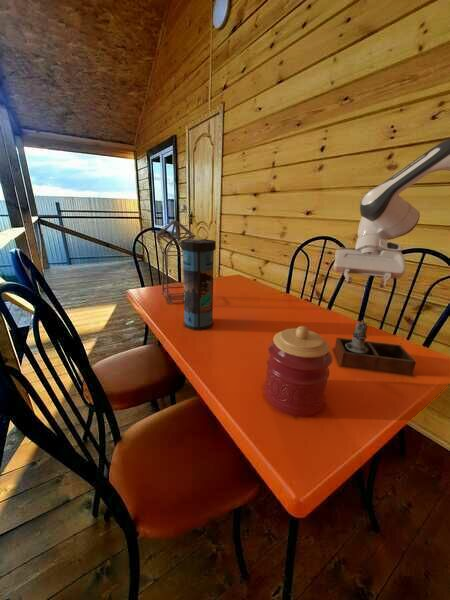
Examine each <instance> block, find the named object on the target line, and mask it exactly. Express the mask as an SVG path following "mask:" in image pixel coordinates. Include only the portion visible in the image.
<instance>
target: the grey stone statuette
mask: <svg viewBox="0 0 450 600" xmlns="http://www.w3.org/2000/svg"><path fill="white" fill-rule="evenodd" d="M367 331H368V324H367V323H365V320H364V319H362V320H361V322H357V323H356V324H355V328H354V332H353V333H352V339H353V340H352V342H350V343H347V344H346V345H345V346H346V350H347V352H350V353H358V354H366V353H367V352H368V351H369V350H368V348H367V347H366V346H364V341H366V339H367V338H368V336H367Z"/></svg>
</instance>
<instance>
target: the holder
mask: <svg viewBox="0 0 450 600" xmlns="http://www.w3.org/2000/svg"><path fill="white" fill-rule="evenodd" d="M352 340H353V338H344V337H336V338H335V344H334V349H333V350H334V352H335V355H336V357H337V360H338V363H339V366H340V367H344V368H353V369H359V370H366V371H373V372H380V373H388V374H396V375H402V376H403V375H404V376H409V377H412V376H413V373H414V370H415V366H416V363H417V361H416V360H415V359H414V358H413V357H412V356H411V355H410V354H409V352H408V351H407V350H406V349H405V348H404V347H403V345H401V344H395V343H394V344H393V343H387V342H386V343H385V342H377V341H369V340H365V341H364V346H366V347H367V348H368V350H369V351H368V352H367V353H366V354H358V353H350V352H347V350H346V346H345V345H346V344H347V343H350V342H352Z"/></svg>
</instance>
